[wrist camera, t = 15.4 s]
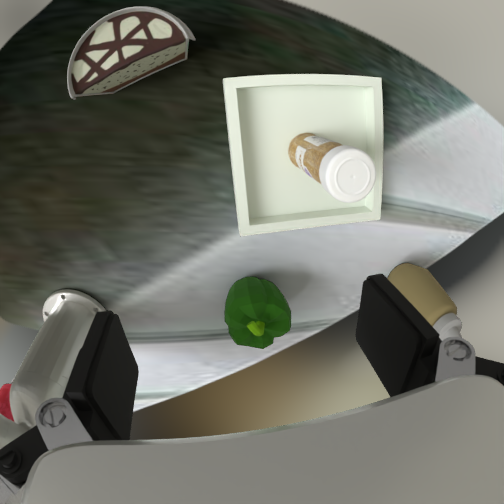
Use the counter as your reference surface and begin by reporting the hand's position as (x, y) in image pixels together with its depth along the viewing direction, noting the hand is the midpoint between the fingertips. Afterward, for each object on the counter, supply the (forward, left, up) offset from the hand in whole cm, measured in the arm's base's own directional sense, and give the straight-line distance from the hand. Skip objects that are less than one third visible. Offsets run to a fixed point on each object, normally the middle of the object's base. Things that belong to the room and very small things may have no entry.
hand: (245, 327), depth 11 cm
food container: (+16, +8, -28) cm, 33 cm away
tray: (+2, -10, -28) cm, 29 cm away
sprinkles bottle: (+2, -10, -27) cm, 29 cm away
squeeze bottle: (-19, -26, -28) cm, 43 cm away
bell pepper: (-17, -2, -28) cm, 33 cm away
